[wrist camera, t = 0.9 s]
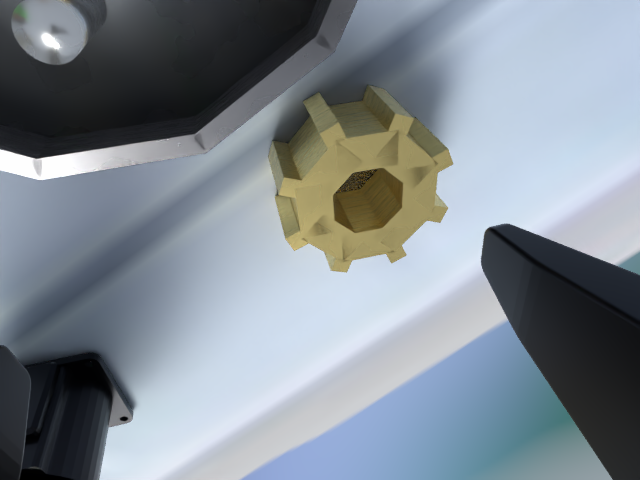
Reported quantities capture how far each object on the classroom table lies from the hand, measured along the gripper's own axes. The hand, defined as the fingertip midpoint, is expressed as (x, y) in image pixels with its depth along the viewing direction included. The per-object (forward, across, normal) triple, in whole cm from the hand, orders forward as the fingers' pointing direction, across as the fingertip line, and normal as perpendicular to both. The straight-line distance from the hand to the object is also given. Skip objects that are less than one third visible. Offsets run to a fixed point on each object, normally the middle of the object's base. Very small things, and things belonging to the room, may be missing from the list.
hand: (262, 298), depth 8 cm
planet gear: (+12, -5, +4) cm, 14 cm away
